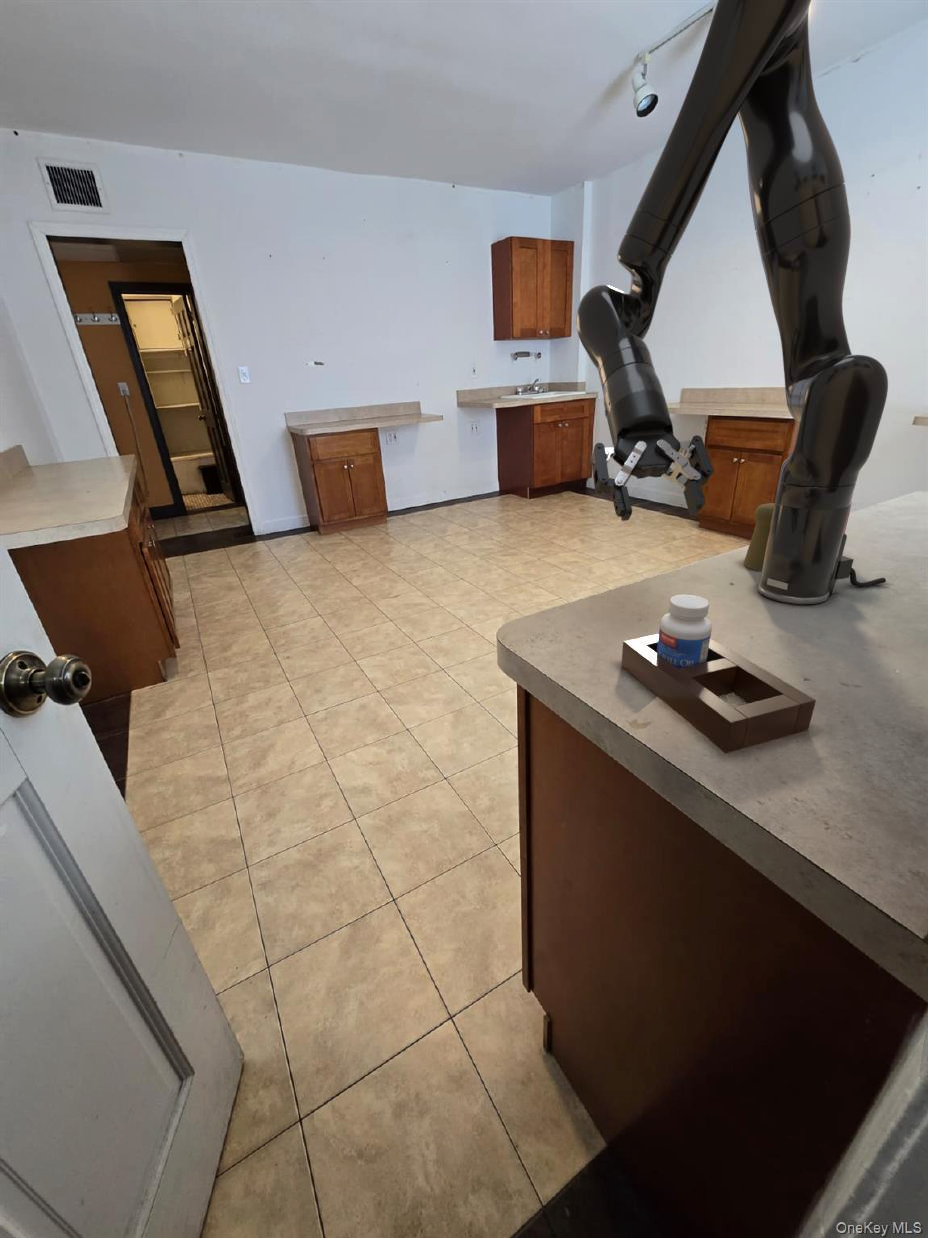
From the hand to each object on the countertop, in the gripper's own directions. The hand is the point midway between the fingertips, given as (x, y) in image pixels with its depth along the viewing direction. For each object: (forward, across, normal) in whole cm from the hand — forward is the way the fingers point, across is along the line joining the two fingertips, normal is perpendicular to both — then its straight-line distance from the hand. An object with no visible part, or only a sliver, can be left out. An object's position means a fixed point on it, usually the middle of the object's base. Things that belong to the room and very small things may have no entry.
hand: (662, 514), depth 62 cm
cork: (-5, +30, +29) cm, 42 cm away
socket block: (+22, +1, +2) cm, 22 cm away
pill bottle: (+19, 0, +5) cm, 20 cm away
